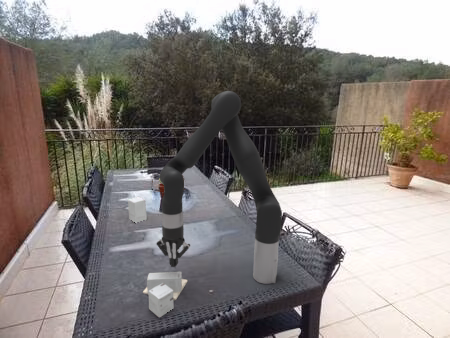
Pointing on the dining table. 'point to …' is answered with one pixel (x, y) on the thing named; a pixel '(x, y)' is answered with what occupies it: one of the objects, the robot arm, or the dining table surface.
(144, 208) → the supplement box
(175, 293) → the mat
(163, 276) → the skincare box
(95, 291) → the dining table surface
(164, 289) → the skincare box
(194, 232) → the dining table surface
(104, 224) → the dining table surface
